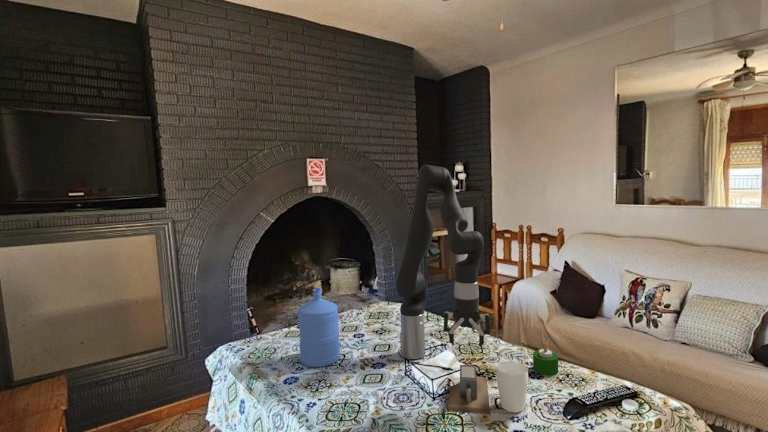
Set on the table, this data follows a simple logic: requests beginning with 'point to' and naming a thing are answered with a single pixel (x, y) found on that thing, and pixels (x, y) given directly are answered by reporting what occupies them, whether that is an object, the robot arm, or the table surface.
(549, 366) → the candle
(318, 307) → the water jug
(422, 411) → the table surface
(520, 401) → the cup
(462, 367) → the block
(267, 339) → the table surface
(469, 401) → the tray
